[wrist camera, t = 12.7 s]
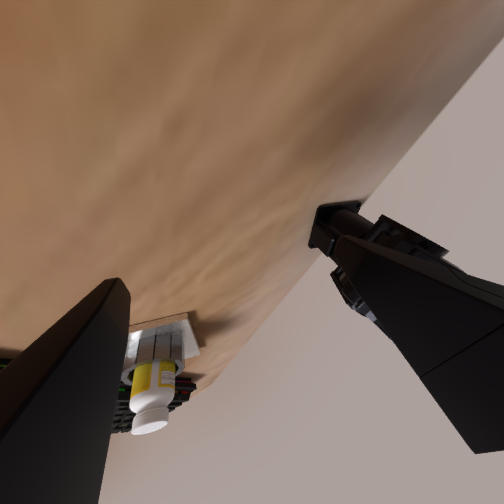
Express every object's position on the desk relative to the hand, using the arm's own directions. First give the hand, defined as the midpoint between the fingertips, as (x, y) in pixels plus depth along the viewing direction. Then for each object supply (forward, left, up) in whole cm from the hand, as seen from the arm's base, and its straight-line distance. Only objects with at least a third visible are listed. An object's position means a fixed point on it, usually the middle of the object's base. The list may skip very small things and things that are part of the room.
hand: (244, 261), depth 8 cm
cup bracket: (+12, +26, -13) cm, 31 cm away
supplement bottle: (+12, +26, -12) cm, 31 cm away
